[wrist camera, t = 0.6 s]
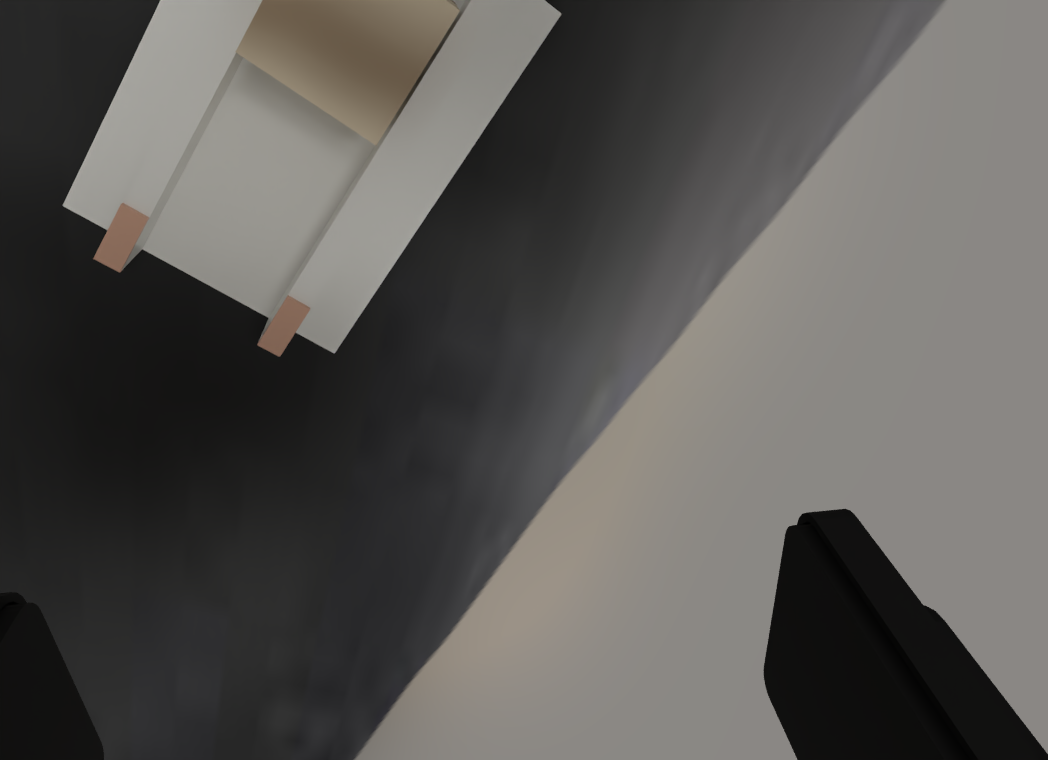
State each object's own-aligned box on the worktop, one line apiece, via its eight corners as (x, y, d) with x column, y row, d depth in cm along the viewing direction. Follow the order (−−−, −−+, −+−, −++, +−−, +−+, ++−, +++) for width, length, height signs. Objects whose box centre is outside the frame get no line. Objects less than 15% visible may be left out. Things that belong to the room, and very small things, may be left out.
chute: (273, -220, 26) (251, -244, 23) (557, 12, 30) (573, 19, 27) (72, 198, 32) (32, 226, 28) (336, 344, 36) (328, 382, 33)
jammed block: (333, -92, 27) (315, -101, 23) (454, 1, 29) (460, 10, 24) (264, 37, 29) (235, 51, 24) (383, 118, 30) (376, 145, 26)
